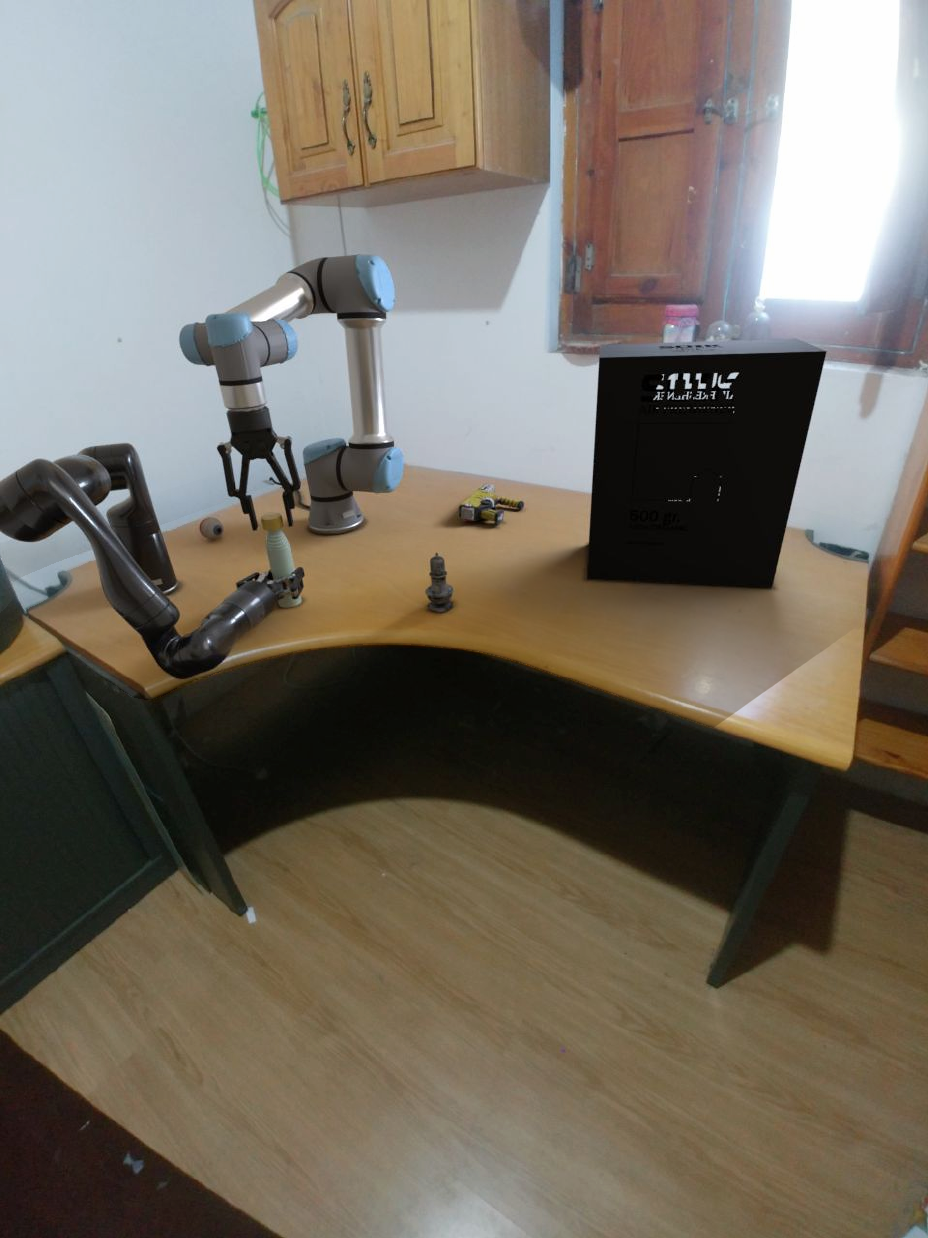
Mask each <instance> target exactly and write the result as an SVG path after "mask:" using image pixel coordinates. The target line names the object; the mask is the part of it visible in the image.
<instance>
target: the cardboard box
mask: <svg viewBox="0 0 928 1238" xmlns="http://www.w3.org/2000/svg"><path fill="white" fill-rule="evenodd" d="M827 352H828V351H827V350H824V349H822V348H820V347H818V346H815V345H813V344H811V343H808V342H806V341H802V340H801V339H799V338H768V339H766V338H765V339H737V340H736V339H735V340H709V341H708V340H707V341H705V340H703V341H675V342H672V341H671V342H648V343H647V342H646V343H645V342H644V343H643V342H642V343H616V344H615V343H614V344H612V343H611V344H600V348H599V355H598V356H599V358H598V370H597V371H598V372H597V390H596V391H597V392H596V409H595V410H596V411H595V426H594V445H593V459H592V460H593V461H592V462H593V463H592V479H591V497H590V515H589V532H588V533H589V535H588V547H587V548H588V549H587V568H586V580H588V581H611V582H635V583H655V584H657V583H658V584H675V585H676V584H679V585H698V586H699V585H703V586H725V587H743V588H744V587H745V588H746V587H747V588H768V589H773V586H774V582H775V578H776V573H777V569H778V565H779V560H780V555H781V550H782V548H783V543H784V540H785V539H784V538H785V534H786V530H787V525H788V521H789V517H790V513H791V512H790V511H791V509H792V504H793V499H794V496H795V490H796V486H797V483H798V477H799V474H800V469H801V465H802V461H803V456H804V451H805V447H806V444H807V443H806V442H807V439H808V434H809V429H810V425H811V421H812V416H813V412H814V408H815V404H816V400H817V395H818V391H819V387H820V382H821V378H822V373H823V368H824V365H825V360H826V356H827ZM685 374H689V378H688V385H690V388H686V384H687V379H685V378H684V375H685ZM699 374H700V379H699V378H697V375H699ZM715 374H716V380H715V384H714V386H713V383H714V378H715ZM731 374H736V376H735V378H729V377H730V376H731ZM672 375H677V378H676V379H675V380H674V384H673V385H674V387H673V388H671V385H672V379H671V378H670V377H671V376H672ZM719 379H720V381H719ZM700 384H701V385H705V387H704V388H699V385H700ZM719 384H720V385H724V384H729V387H720V386H719ZM659 386H661V387H662V388H658V387H659Z"/></svg>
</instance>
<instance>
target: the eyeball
mask: <svg viewBox="0 0 928 1238" xmlns="http://www.w3.org/2000/svg"><path fill="white" fill-rule="evenodd" d="M198 529H199V533H200V534H201V535H202V537H203V538H205V539H206V540H210V541H211V540H212V541H213V540H217V539H219V538H221V537H222V535H223V533H224V525H223V522H222V521H221V520H219V519H218V518H216V517H210V516H209V517H206V518H204V519H203V520H201V522H200V523H199V528H198Z"/></svg>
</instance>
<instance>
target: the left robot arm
mask: <svg viewBox="0 0 928 1238" xmlns="http://www.w3.org/2000/svg"><path fill="white" fill-rule="evenodd" d="M146 480H147V479H146V476H145V473H144V469H143V465H142V461H141V457H140V456H139V453H138V451H137V449H136V448H135V447H134V445H132V443H129V442H119V443H109V444H100V445H91V446H87V447H85V448H83V449H81V450H80V451H78V452H77V453H76V454H70V455H67V456H63V457H60V458H57V459H55V460H53V461H51V460H49V459H45V458H36V459H33V460H31V461H29V462H28V463H26V464H25V465H23V466H21V467H20V468H18V469H16V470H14V471H13V472H12V473H11V474H9V475H8V476H6V477H4V478H2V479H1V480H0V533H2V534H3V535H5V536H6V537H8V538H11V539H12V540H15V541H18V542H23V543H37V542H40V541H43V540H46V539H48V538H50V537H51V536H52V535H53V534H56V532H58V531H60V530H62V528H64V527H66V526H67V525H69V524H70V523H73V522H74V524H76V526H77V527H78V528H79V529H80V530H81V532H82V533H83V534H84V536H85V537H86V539H87V541H88V542H89V544H90V547H91V548H92V552H93V555H94V559H95V562H96V566H97V570H98V576H99V581H100V584H101V588H102V591H103V594H104V596H105V598H106V601H107V602H108V603H109V605H110V606H111V608H112V609H113V610H114V611H115V612H116V613H117V614H118V615H119V616H120V617H121V618H122V619H123V620H124V621H125V622H126V623H127V624H128V625H129V626H130V627H131V628H132V629H133V630H134V631H136V632H137V634H139V635H140V637H141V639H142V642H143V643H144V645H145V647H146V648H147V650H148V651H149V653H150V655H151V656H152V658H153V660H154V662H155V663H156V665H157V666H158V667H159V668H160V669H161V670H162V671H163V672H164V673H165V674H167V675H168V676H170V677H172V678H174V679H178V680H187V679H190V678H194V677H196V676H198V675H201V674H204V673H207V672H210V671H213V670H214V669H215V668H217V667H219V666H220V665H222V663H223V662H224V661H225V660H226V659H227V657H228V656H229V655H230V653H231V652H232V650H233V648H234V646H235V644H236V643H238V642H239V641H240V640H242V638H244V636H245V635H247V634H248V633H250V632H251V631H252V630H254V629H256V627H257V626H259V625H260V624H261V623H262V622H263V621H264V620H265V619H266V618H267V617H268V616H269V615H271V613H273V611H274V610H275V608H276V606H277V603H278V601H279V600H281V599H283V598H284V597H285V596H292V599H298V597H299V595H300V596H301V593H302V592H303V590H304V588H305V585H304V580H303V578H305V576H306V575H305V570H304V567H303V566H298V567H297V568H295V570H294V571H293V572H292V573H291V574H290V575H288V576H286V577H284V576H281V577H279V578H277V579H275V580H273V576H272V572H271V568H270V569H269V570H267V571H263V572H262V573H260V571H259V572H258V571H256V572H253V573H252V574H250V575H248V576H246V577H244V578H242V579H240V580H238V581H237V582H235V585H236V590H234V591H233V592H232V593H231V594H229V595H228V596H227V597H226V598H225V599H224V600H223V601H222V602H220V604H219V605H218V606H216V607H215V608H214V609H213V610H211V612H209V613H208V614H207V615H206V616H205V617H204V618H203V619H202V620H201V622H200V626H199V627H198V628H196V629H194V630H193V631H191V632H188V633H187V634H184V635H180V633H179V632H178V630H177V628H176V626H175V625H176V624H177V623H178V622H179V620H180V617H181V613H180V610H179V609H178V606H176V604H175V603H173V601H172V600H171V599H170V598H169V597H168V595H170V594H172V593H174V592H175V591H177V589H178V588H179V586H180V585H179V581H178V579H177V576H176V573H175V570H174V566H173V564H172V561H171V558H170V557H171V556H170V554H169V551H168V548H167V544H166V542H165V538H164V535H163V533H162V529H161V526H160V523H159V520H158V518H157V515H156V511H155V508H154V505H153V501H152V498H151V494H150V491H149V488H148V484H147V481H146ZM122 490H128V492H129V495H128V496H127V497H126V498H125V499H123V500H122V501H119V502H118V503H116V504H114V505H112V506H111V507H110V508H108V509H107V511H106V512H105V514H106V516H105V517H106V519H107V520H106V519H105V517H104V516H103V515H102V513H101V512H100V511H99V509H98V508H97V506H99V505H100V504H101V503H103V502H104V501H105V500H106V499H107V498H108V497H109V494H110V492H116V491H122ZM289 580H291V584H289ZM281 582H282V583H281Z"/></svg>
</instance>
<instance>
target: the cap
mask: <svg viewBox="0 0 928 1238" xmlns="http://www.w3.org/2000/svg"><path fill="white" fill-rule="evenodd" d="M260 522H261V526H262V529H263V531H266V532H267V531H275V530H279V529H281V530H282V529H283V528H284V526H285V524H284V520H283V515H282V514H281V513H280V512H268V513H265V514H263V515H261V516H260Z"/></svg>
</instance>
